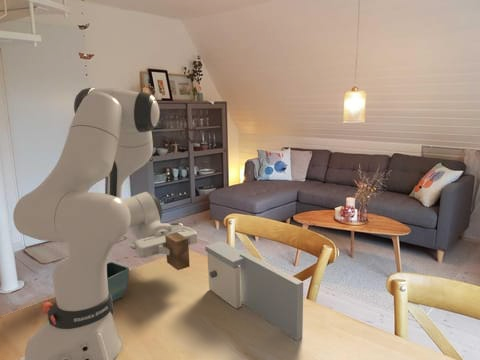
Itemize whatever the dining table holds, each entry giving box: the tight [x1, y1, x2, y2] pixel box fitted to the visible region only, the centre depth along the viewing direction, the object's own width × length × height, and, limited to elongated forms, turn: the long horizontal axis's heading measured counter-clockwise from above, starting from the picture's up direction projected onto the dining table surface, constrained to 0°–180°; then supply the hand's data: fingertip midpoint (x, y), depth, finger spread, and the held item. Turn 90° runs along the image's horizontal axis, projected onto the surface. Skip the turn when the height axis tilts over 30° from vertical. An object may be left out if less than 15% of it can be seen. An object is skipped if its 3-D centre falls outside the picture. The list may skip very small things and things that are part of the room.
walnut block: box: [165, 232, 191, 271], centre depth 113 cm, size 4×7×9 cm, turn 38°
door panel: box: [206, 252, 242, 309], centre depth 108 cm, size 3×14×12 cm, turn 37°
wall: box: [204, 240, 304, 341], centre depth 101 cm, size 6×34×15 cm, turn 37°
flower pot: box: [107, 261, 130, 302], centre depth 110 cm, size 9×9×9 cm
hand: (178, 250), depth 112 cm, fingers closed on walnut block, 4 cm apart
